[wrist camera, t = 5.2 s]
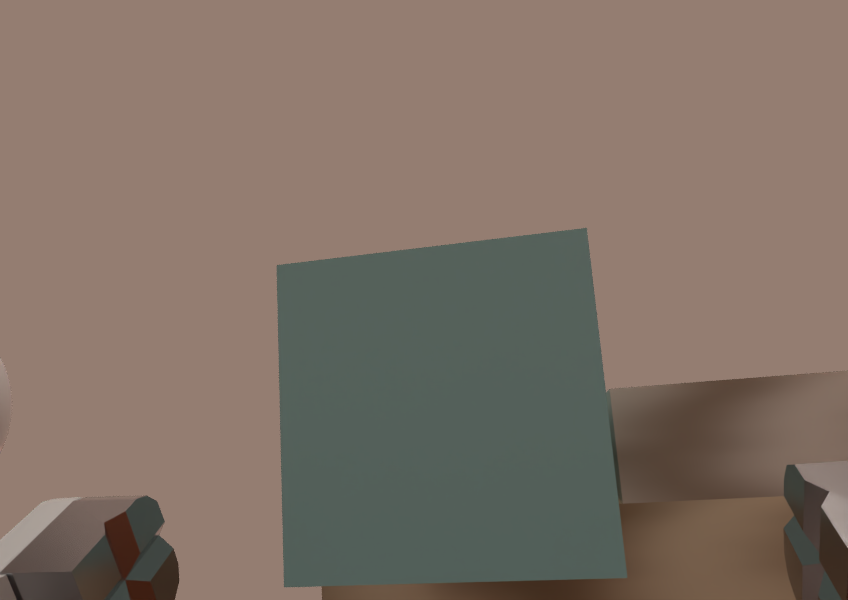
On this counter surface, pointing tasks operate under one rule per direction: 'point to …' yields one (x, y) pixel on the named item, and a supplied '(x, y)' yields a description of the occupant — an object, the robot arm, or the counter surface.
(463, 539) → the stub bar
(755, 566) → the shelf
